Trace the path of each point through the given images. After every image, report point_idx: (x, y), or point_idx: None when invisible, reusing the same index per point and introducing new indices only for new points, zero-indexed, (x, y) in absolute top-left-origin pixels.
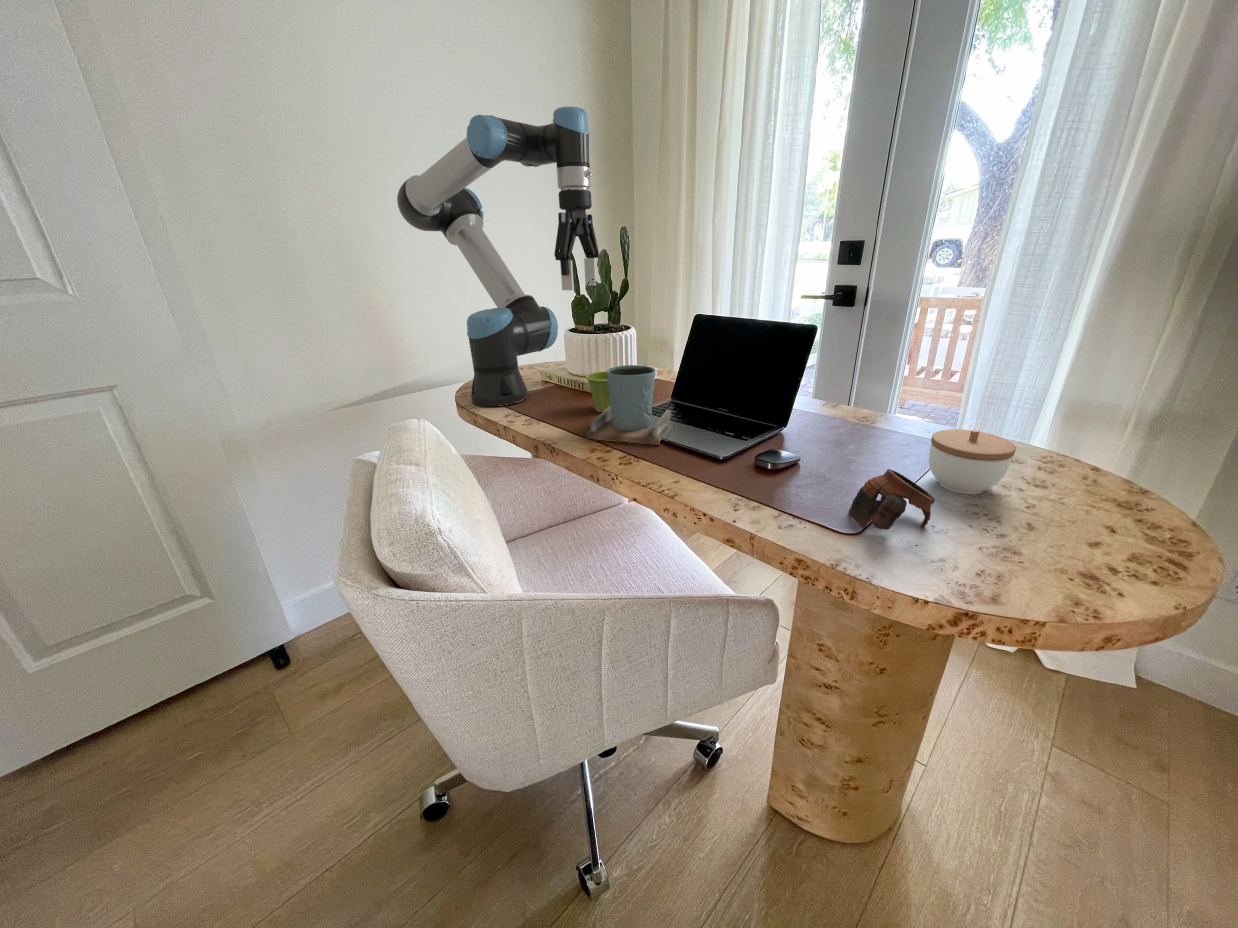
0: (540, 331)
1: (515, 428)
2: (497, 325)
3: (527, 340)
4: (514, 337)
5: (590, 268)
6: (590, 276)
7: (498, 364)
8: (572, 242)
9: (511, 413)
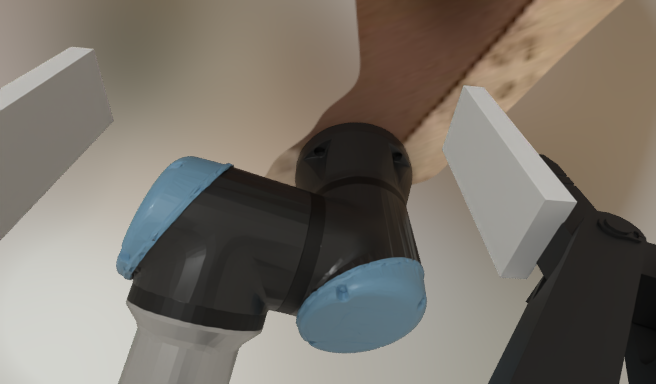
0: (259, 194)
1: (553, 62)
2: (411, 272)
3: (314, 200)
4: (361, 224)
5: (30, 139)
6: (70, 110)
7: (402, 205)
8: (589, 363)
9: (448, 112)
